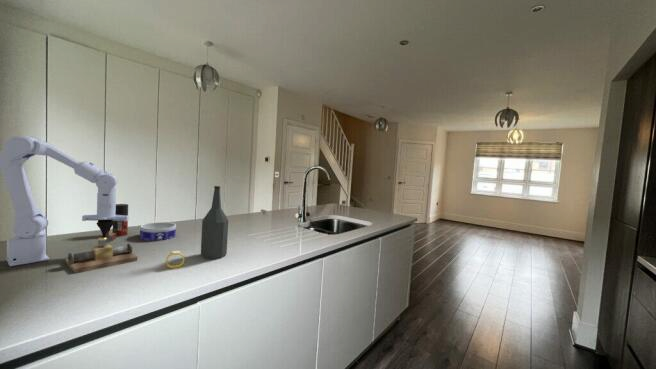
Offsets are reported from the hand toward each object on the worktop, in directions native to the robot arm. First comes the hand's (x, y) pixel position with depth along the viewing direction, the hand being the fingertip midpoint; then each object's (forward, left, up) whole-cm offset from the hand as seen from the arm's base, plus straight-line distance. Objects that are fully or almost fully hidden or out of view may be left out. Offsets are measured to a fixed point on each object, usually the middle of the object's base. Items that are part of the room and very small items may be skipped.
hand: (105, 238), depth 108 cm
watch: (+13, -30, -7) cm, 33 cm away
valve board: (-3, -8, -6) cm, 10 cm away
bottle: (+30, -28, -7) cm, 41 cm away
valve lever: (-1, -4, -1) cm, 4 cm away
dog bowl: (+25, +13, -7) cm, 29 cm away
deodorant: (+13, +26, -7) cm, 30 cm away
